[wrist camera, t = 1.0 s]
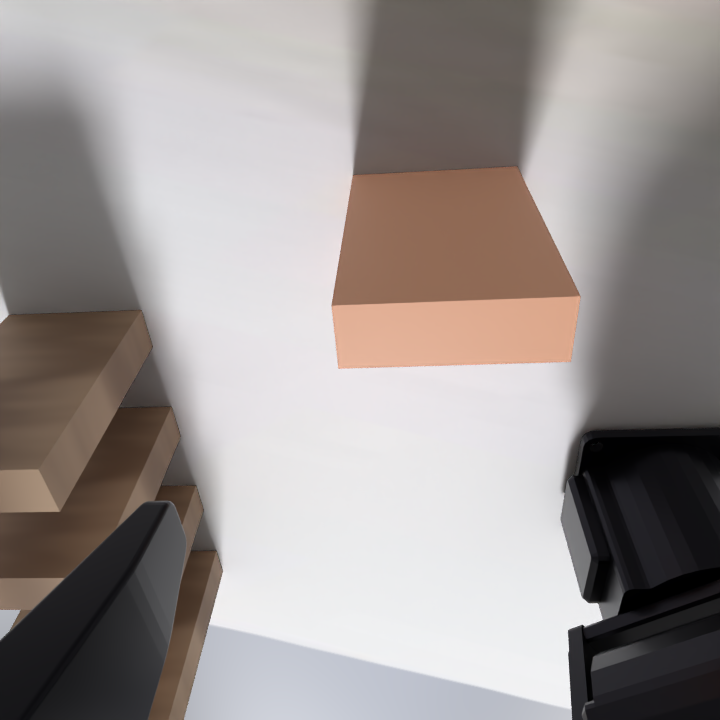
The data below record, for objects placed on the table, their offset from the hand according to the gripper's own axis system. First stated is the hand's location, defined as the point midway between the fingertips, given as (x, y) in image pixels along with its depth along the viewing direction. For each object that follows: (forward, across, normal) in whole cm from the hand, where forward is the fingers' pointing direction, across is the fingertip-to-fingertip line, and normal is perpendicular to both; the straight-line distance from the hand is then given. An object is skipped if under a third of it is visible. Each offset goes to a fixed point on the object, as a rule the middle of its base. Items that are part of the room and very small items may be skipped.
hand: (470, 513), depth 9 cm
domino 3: (+13, +13, +9) cm, 20 cm away
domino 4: (+13, +13, +4) cm, 19 cm away
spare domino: (+13, 0, 0) cm, 13 cm away
